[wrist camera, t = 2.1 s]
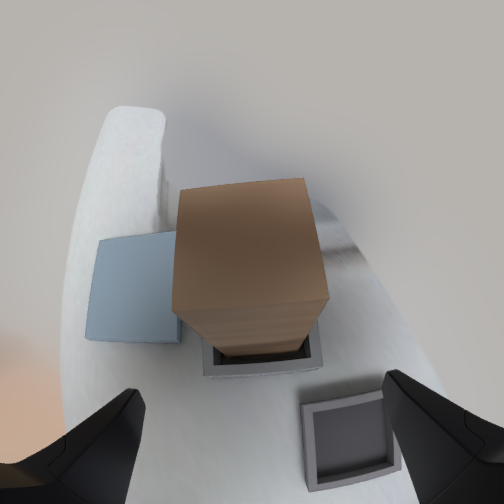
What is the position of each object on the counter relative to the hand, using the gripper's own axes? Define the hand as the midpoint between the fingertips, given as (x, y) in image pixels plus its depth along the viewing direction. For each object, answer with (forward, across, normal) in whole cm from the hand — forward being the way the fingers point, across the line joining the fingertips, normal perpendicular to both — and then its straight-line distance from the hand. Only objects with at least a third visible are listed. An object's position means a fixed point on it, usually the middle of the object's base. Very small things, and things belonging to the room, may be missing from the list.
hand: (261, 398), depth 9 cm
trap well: (+5, -6, +12) cm, 14 cm away
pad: (+15, +11, +2) cm, 19 cm away
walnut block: (+12, 0, +5) cm, 13 cm away
